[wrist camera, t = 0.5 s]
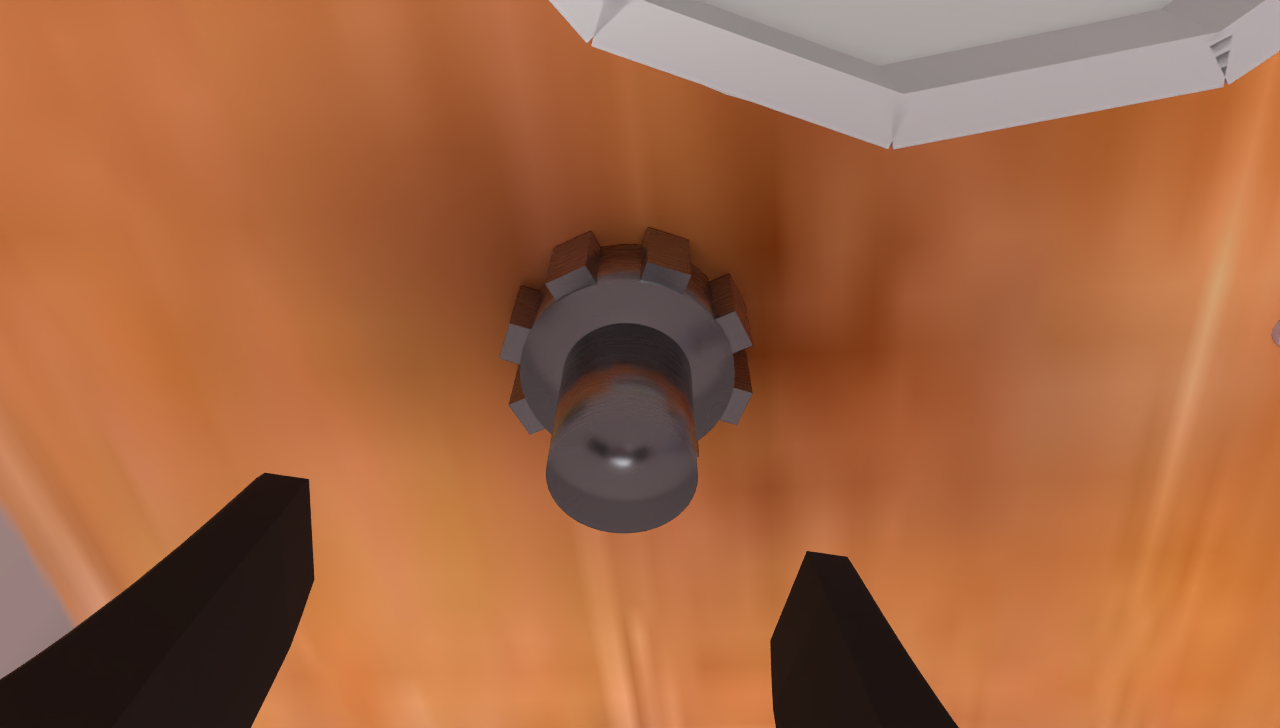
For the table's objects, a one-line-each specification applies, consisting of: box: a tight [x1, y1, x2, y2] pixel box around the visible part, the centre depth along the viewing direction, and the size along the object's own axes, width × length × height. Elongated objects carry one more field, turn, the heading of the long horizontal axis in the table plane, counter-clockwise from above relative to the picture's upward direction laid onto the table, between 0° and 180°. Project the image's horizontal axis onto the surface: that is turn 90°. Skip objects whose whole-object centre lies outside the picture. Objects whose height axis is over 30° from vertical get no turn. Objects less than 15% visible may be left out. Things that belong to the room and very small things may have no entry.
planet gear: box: [499, 228, 752, 533], centre depth 19 cm, size 6×6×6 cm
